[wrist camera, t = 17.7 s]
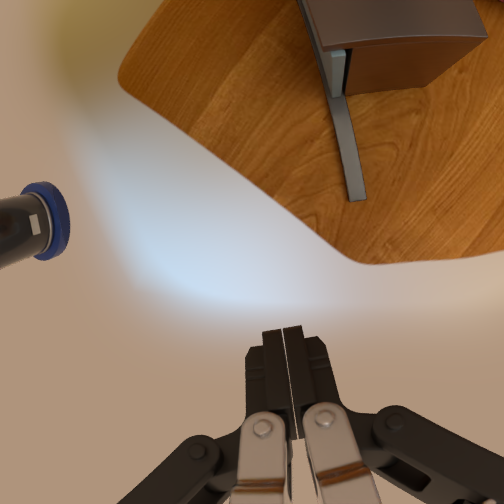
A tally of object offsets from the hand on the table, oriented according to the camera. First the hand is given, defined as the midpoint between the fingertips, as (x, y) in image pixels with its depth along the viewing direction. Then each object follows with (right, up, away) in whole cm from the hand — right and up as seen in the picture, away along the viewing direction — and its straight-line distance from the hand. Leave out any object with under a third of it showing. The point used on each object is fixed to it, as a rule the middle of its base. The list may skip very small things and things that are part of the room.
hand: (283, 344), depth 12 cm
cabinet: (+10, +19, +12) cm, 25 cm away
